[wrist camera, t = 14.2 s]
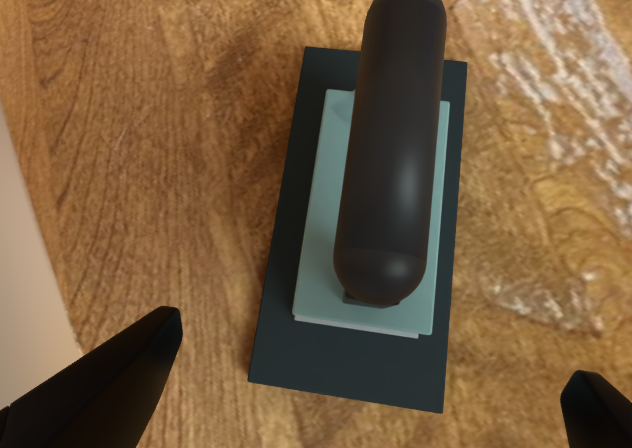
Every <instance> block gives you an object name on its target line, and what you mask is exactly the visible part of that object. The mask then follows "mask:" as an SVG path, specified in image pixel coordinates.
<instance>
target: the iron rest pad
mask: <svg viewBox="0 0 632 448" xmlns="http://www.w3.org/2000/svg"><path fill="white" fill-rule="evenodd" d="M360 53H361V52H358V51H348V50H338V49H328V48H317V47H307V46H306V47H305V51H304V57H303V62H302V68H301V74H300V80H299V86H298V91H297V97H296V103H295V109H294V114H293V120H292V126H291V132H290V138H289V143H288V149H287V155H286V161H285V166H284V172H283V178H282V184H281V189H280V195H279V201H278V207H277V213H276V218H275V224H274V230H273V236H272V241H271V247H270V253H269V259H268V265H267V270H266V276H265V282H264V288H263V293H262V299H261V305H260V311H259V316H258V322H257V328H256V334H255V340H254V345H253V351H252V357H251V363H250V368H249V374H248V382H251V383H257V384H263V385H269V386H276V387H282V388H288V389H294V390H300V391H306V392H312V393H318V394H324V395H330V396H336V397H342V398H349V399H355V400H361V401H367V402H373V403H379V404H385V405H391V406H397V407H403V408H409V409H415V410H422V411H428V412H434V413H440V414H442V413H443V404H444V390H445V376H446V362H447V347H448V333H449V319H450V305H451V291H452V277H453V262H454V248H455V234H456V220H457V206H458V191H459V177H460V163H461V149H462V135H463V121H464V106H465V92H466V78H467V62H461V61H451V60H444V64H443V76H442V88H441V100H440V101H448V102H449V103H450V108H449V121H448V134H447V146H446V159H445V172H444V185H443V198H442V210H441V223H440V236H439V249H438V262H437V274H436V287H435V300H434V313H433V326H432V333H431V335H425V334H418V338H411V337H404V336H397V335H390V334H384V333H377V332H370V331H364V330H357V329H350V328H344V327H337V326H330V325H324V324H317V323H310V322H304V321H297V320H294V317H295V315H293V314H292V309H293V302H294V296H295V289H296V283H297V276H298V270H299V264H300V257H301V251H302V244H303V238H304V231H305V225H306V218H307V212H308V205H309V199H310V192H311V186H312V179H313V173H314V166H315V160H316V153H317V147H318V140H319V134H320V127H321V121H322V115H323V108H324V102H325V95H326V91H327V89H333V90H342V91H353V90H355V89H356V83H357V75H358V68H359V61H360Z"/></svg>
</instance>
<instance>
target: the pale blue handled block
mask: <svg viewBox="0 0 632 448" xmlns="http://www.w3.org/2000/svg"><path fill="white" fill-rule="evenodd" d="M446 28H447V19H446V11H445V8H444V5H443V2H442V1H441V0H374V1H373V3H372V5H371V6H370V8H369V10H368V12H367V16H366V20H365V24H364V31H363V39H362V46H361V53H360V61H359V68H358V75H357V83H356V89H355V90H353V91H342V90H333V89H327V91H326V95H325V102H324V108H323V115H322V121H321V127H320V134H319V140H318V147H317V153H316V160H315V166H314V173H313V179H312V186H311V192H310V199H309V205H308V212H307V218H306V225H305V231H304V238H303V244H302V251H301V257H300V264H299V270H298V276H297V283H296V289H295V296H294V302H293V309H292V314H293V315H295V317H294V320H297V321H304V322H310V323H317V324H324V325H330V326H337V327H344V328H350V329H357V330H364V331H370V332H377V333H384V334H390V335H397V336H404V337H411V338H418V334H425V335H431V333H432V326H433V313H434V300H435V287H436V274H437V262H438V249H439V236H440V223H441V210H442V198H443V185H444V172H445V159H446V146H447V134H448V121H449V108H450V103H449V102H448V101H440V100H441V88H442V76H443V64H444V52H445V40H446Z"/></svg>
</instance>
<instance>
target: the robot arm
mask: <svg viewBox="0 0 632 448" xmlns="http://www.w3.org/2000/svg"><path fill="white" fill-rule="evenodd" d="M182 337H183V330H182V323H181V316H180V311H179V309H178V308H176V307H169V306H160V307H158V308H156V309H155V310H153V311H152V312H150V313H149V314H147V315H146V316H144V317H143V318H141V319H139V320H138V321H136V322H135V323H133V324H132V325H130V326H129V327H127V328H126V329H124V330H123V331H121V332H120V333H118V334H117V335H115V336H113V337H112V338H110V339H109V340H107V341H106V342H104V343H103V344H101V345H100V346H98V347H97V348H95V349H94V350H92V351H91V352H89V353H87V354H86V355H84V356H83V357H81V358H80V359H79V360H77V361H76V362H74V363H72V364H71V365H69V366H68V367H66V368H65V369H63V370H62V371H60V372H58V373H57V374H55V375H54V376H52V377H51V378H49V379H48V380H46V381H45V382H43V383H42V384H40V385H39V386H37V387H35V388H34V389H32V390H31V391H29V392H28V393H26V394H25V395H23V396H22V397H20V398H19V399H17V400H16V401H14V402H13V403H11V405H10V407H9V406H6V407H5V408H3V409H2V410H0V448H136V446H137V444H138V442H139V440H140V438H141V436H142V434H143V432H144V430H145V428H146V426H147V424H148V422H149V420H150V419H151V417H152V415H153V413H154V410H155V408H156V406H157V404H158V402H159V399H160V397H161V395H162V392H163V389H164V387H165V384H166V381H167V379H168V376H169V373H170V371H171V368H172V366H173V363H174V360H175V358H176V355H177V352H178V350H179V347H180V344H181V341H182ZM560 403H561V408H562V413H563V418H564V423H565V427H566V432H567V437H568V442H569V447H570V448H632V403H631V402H630V401H629V400H628V399H627V398H626V397H625V396H624V395H622V394H621V393H620V392H619V391H618V390H617V389H616V388H615V387H613V386H612V385H611V384H610V383H609V382H608V381H607V380H606V379H605V378H603V377H602V376H601V375H600V374H598V373H595V372H589V371H583V370H577V371H576V372H574V373H573V375H572V376H571V378H570V380H569V381H568V383H567V385H566V386H565V388H564V389H563V391H562V393H561V398H560Z"/></svg>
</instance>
